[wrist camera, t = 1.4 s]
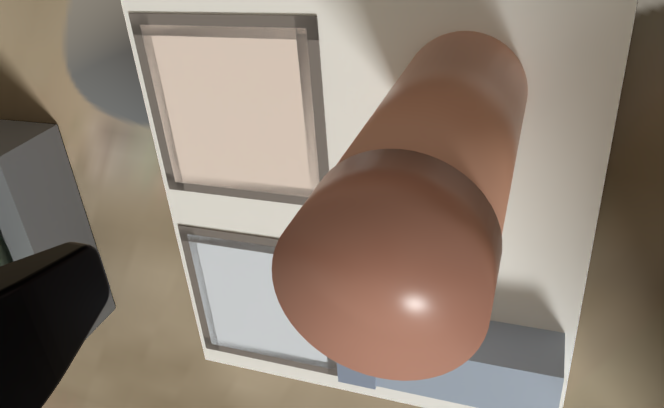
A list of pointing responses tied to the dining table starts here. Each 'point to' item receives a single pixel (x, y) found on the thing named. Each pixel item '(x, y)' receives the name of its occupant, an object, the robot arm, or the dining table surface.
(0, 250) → the button
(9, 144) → the button housing
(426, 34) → the sorting tray
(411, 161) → the cylinder
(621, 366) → the dining table surface
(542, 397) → the blue-grey faceted bar
